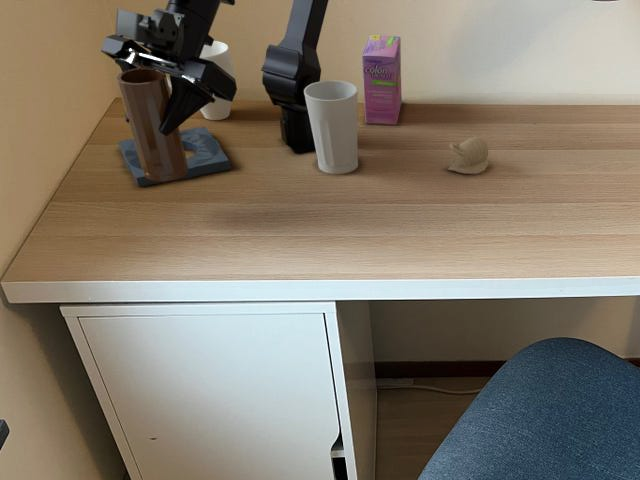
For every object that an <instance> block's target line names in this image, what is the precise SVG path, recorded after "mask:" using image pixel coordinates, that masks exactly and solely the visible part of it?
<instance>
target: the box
mask: <svg viewBox="0 0 640 480" xmlns="http://www.w3.org/2000/svg"><path fill="white" fill-rule="evenodd" d="M401 41H402V40H401V36H395V35H379V34H378V35H377V34H369V35H368V37H367V40H366V43H365V46H364V49H363V52H362V55H361V63H362V81H363V83H362V84H363V101H364V120H365V121H364V123H365V124H366V125H367V124H368V125H382V126H383V125H386V126H397V124H398V120H399V115H400V111H401V107H402V102H403V101H402V100H403V99H402V53H401V52H402V51H401V50H402V43H401Z"/></svg>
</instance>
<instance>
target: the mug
mask: <svg viewBox="0 0 640 480" xmlns="http://www.w3.org/2000/svg"><path fill="white" fill-rule="evenodd" d="M200 58H202V59H205V60H209V61H213V62H214V63H216V64H217V65H218V66H219V67H221V68H222V69H223V70H224V71H226V72H227V73H228V74H230V75H231V76H232V77H233V78H235V72H234V66H233V61H232V54H231V50H230V47H229V45H228V44H227V43H224V42H222V41H218V40H214V42H213V44H212V46H208V45H204V47H203V50H202V52H201V55H200ZM161 65H164V66H165V64H161ZM167 76H168V75H166V77H167ZM167 81H168V85H169V89H171V90H172V87H171V81H170V79H169V78H168V77H167ZM212 97H213V98H214V99H216V100H215V102H214V103H211V102H210V103H208V104H207V105H205V106H204V107H203V108H201V109H200V110H199V111H200V112H201V113H202V116H203V117H204V118H205V119H207V120H209V121H221V120H224V119H227V118H228V117H229V116H230V113H231V108H232V103H233V101H232V102H230V101H227V100H223V99H220V98H217V97H216V96H214V93H213V96H212Z"/></svg>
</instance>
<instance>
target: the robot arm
mask: <svg viewBox="0 0 640 480" xmlns="http://www.w3.org/2000/svg"><path fill="white" fill-rule="evenodd" d="M329 1H330V0H292V5H291V10H290V14H289V19H288V22H287V25H286V29H285V34H284V38H283V39H282V40H281V41H280V42H279V43H278V44H277V45H274V44H268V46H267V48H266V51H265V58H264V62H263V65H262V67H261V68H260V71H261V72H262V77H261V80H262V81H261V82H262V83H261V84H262V85H263V86H264V90H265V92H266V93H267V95H268V97H269V99H270V101H271V103H272V105H273V106H275V107H276V106H277V107H280V111H281V115H279V117H278V119H279V126H280V133H281V140H282V142H283V143H284V144H285V145H286V146H287V147H288V148H289V149H290V151H292V153H294V154H298V153H303V152H308V151H313V150H316V148H315V143H314V138H313V133H312V128H311V123H310V118H309V113H308V109H307V104H306V99H305V95H304V89H305V88H306V87H307V86H308V85H310V84H313V83H316V82H320V81H321V76H322V67H321V64H320V60H319V56H318V52H317V49H318V43H319V40H320V36H321V32H322V28H323V25H324V21H325V20H324V19H325V16H326V13H327V9H328V4H329ZM221 4H225V5H229V6H235V5H236V0H168V1H167V4H166V5H165V9H163V8H159V7H157V8H156V9H154V10H153V11H152V13H151V15H150V16H149V15H145V14H141V13H137V12H133V11H130V10H125V9H123V8H118V7H117V9H116V19H115V20H116V21H115V34H111V35H108V36H105V39H104V40H103V44H102V46H101V49H100V52H101V53H102V54H104V55H106V56H107V57H108V58H110V59H111V60H113V61H114V63H115V64H116V65H117V66H119V67H120V70H121V73H122V72H124V71H127V70H130V69H135V68H157V69H160V70H163V71H164V72H165V74H166V75H169V81H170V82H171V87H172V89H171V92H170V94H171V96H170V99H169V102H168V105H167V108H166V111H165V114H164V117H163V120H162V124H161V129H160V133H162V134H163V135H165V136H168V135H169V134H170V133H172V132H173V131H174V130H175V129H176V128H177V127H180V126H182V124H183V123H184V122H186V121H187V120H188V119H189V118H191V117H192V116H193V115H195V114H196V113H197V112H199V111H201V110H200V109H201V108H203V107H204V106H205V105H207V104H208V103H210V102H211V103H214V102H215V100H216V99H214V98H213V97H212V96H213V93H214V96H216V97H217V98H220V99H223V100H227V101H230V102H232V103H233V101H234V98H235V95H236V94H237V91H238V85H237V80H236V78H235V77H234V78H233V77H232V76H231V75H230V74H228V73H227V72H226V71H224V70H223V69H222V68H221V67H219V66H218V65H217V64H216V63H214V62H213V61H209V60H205V59H202V58H200V55H201V52H202V50H203V47H204V45H208V46H212V44H213V42H214V41H215V39H214V38H213V37H212V36H211V35H210V32H211V29H212V26H213V23H214V22H215V18H216V16H217V15H218V14H217V13H218V11H219V8H220V6H221ZM161 64H164V65H161ZM125 122H126V123H128V124H129V120H128V117H127V113H126V112H125Z"/></svg>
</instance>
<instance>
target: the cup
mask: <svg viewBox="0 0 640 480" xmlns="http://www.w3.org/2000/svg"><path fill="white" fill-rule="evenodd" d="M358 94H359V93H358V87H357V86H356V85H355V84H353V83H351V82H348V81H344V80H338V79H336V80H335V79H333V80H332V79H330V80H329V79H327V80H320V82H316V83H313V84H310V85H308V86H307V87H306V88H305V89H304V95H305V99H306V104H307V109H308V113H309V118H310V123H311V128H312V133H313V138H314V143H315V148H316V149H315V152H316V157H317V165H318V168H319V170H320V171H321V172H323V173H326V174H331V175H343V174H348V173H351V172H354V171H355V170H356V169H357V168H358V167H359V158H358Z"/></svg>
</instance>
